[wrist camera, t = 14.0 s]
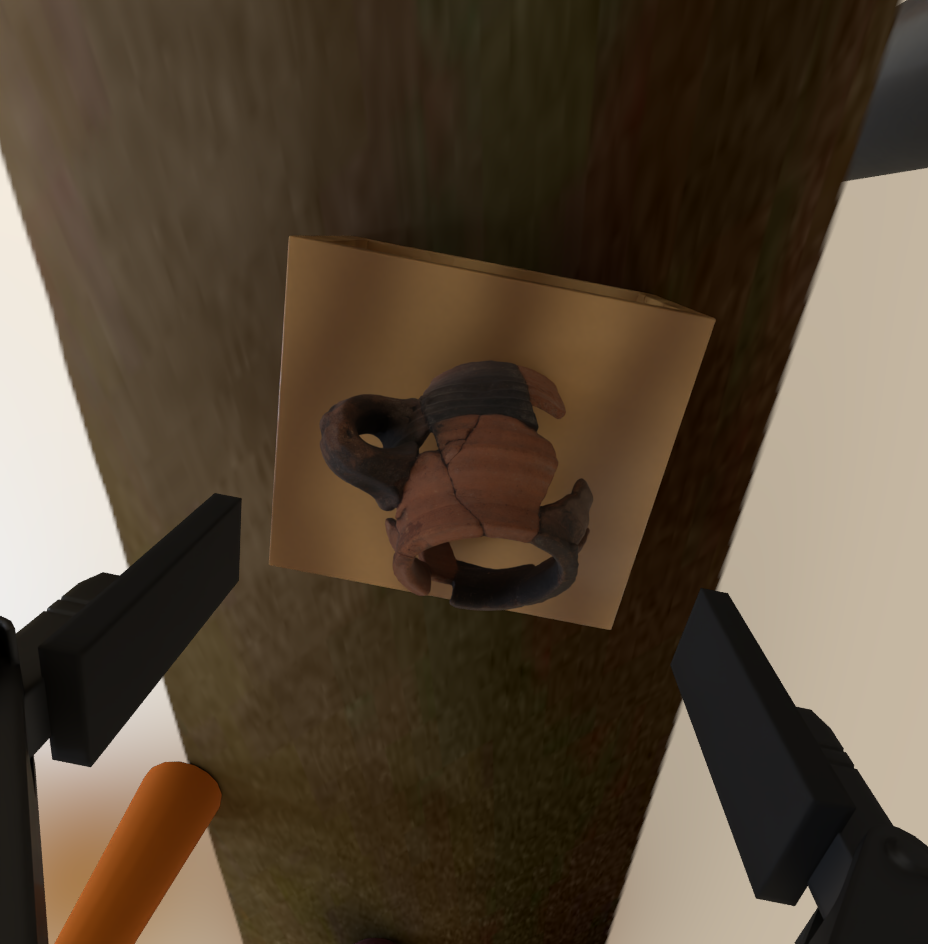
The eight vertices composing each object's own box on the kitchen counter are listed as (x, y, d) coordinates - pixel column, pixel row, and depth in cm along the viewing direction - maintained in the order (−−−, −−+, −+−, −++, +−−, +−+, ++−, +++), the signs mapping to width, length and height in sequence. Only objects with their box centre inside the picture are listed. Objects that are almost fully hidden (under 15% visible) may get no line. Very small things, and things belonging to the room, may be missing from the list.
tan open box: (653, 294, 34) (716, 318, 24) (584, 531, 40) (611, 630, 30) (352, 235, 34) (288, 235, 24) (328, 482, 40) (268, 565, 30)
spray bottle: (180, 720, 49) (-135, 1190, 25) (236, 809, 53) (8, 1295, 29) (109, 736, 51) (-257, 1198, 26) (169, 822, 54) (-105, 1298, 30)
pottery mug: (624, 389, 26) (654, 552, 21) (516, 496, 33) (520, 638, 28) (366, 281, 22) (327, 450, 17) (305, 428, 29) (264, 580, 24)
